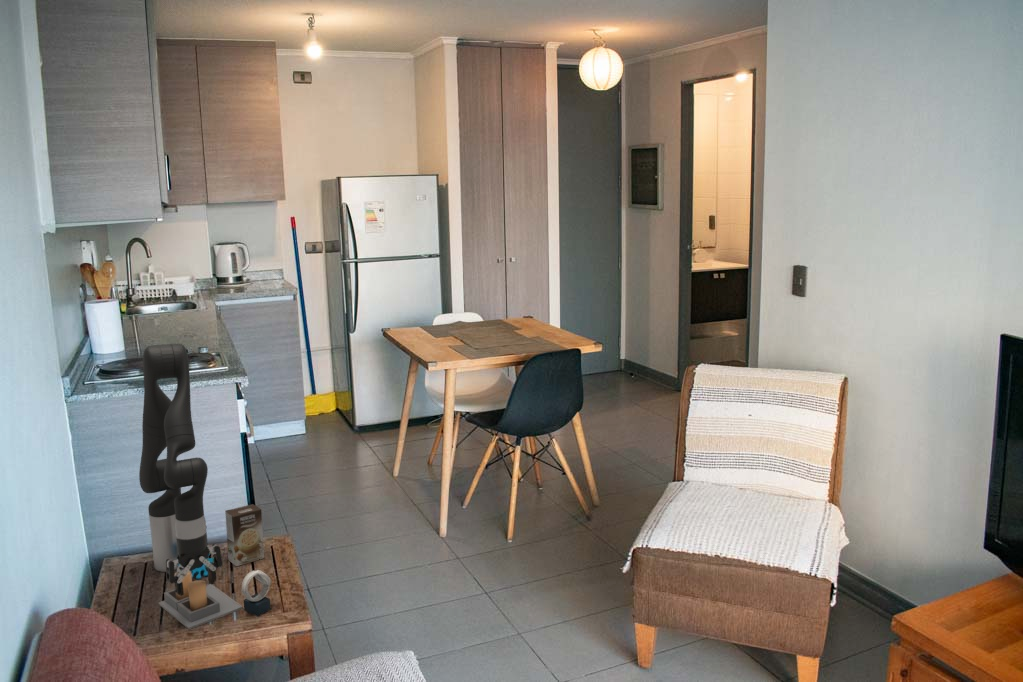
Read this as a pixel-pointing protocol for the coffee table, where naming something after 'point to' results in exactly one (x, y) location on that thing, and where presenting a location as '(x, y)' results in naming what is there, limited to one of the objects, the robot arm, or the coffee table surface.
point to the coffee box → (244, 534)
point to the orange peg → (197, 595)
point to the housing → (190, 619)
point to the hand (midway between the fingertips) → (196, 588)
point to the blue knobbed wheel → (201, 569)
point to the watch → (256, 602)
